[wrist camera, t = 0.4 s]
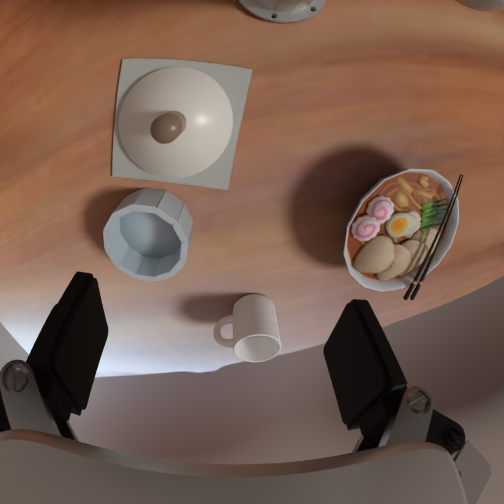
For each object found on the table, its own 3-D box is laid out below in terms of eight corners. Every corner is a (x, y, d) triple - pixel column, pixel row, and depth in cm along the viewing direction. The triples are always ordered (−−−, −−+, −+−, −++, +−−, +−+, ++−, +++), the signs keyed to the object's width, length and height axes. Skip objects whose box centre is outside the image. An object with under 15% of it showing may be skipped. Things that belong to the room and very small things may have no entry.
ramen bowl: (350, 131, 37) (375, 143, 30) (453, 166, 40) (481, 183, 33) (311, 267, 51) (323, 298, 44) (407, 274, 54) (425, 299, 47)
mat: (123, 59, 29) (122, 58, 28) (252, 69, 32) (252, 69, 31) (113, 175, 38) (112, 176, 38) (227, 189, 41) (227, 190, 41)
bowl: (116, 184, 39) (101, 200, 34) (196, 194, 41) (191, 211, 36) (118, 253, 46) (107, 274, 41) (188, 263, 48) (184, 286, 43)
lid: (128, 65, 29) (111, 63, 24) (243, 75, 32) (245, 73, 27) (118, 170, 38) (102, 185, 33) (222, 182, 40) (220, 199, 35)
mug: (217, 325, 58) (217, 366, 49) (209, 297, 53) (207, 339, 45) (275, 318, 58) (281, 359, 49) (272, 289, 53) (280, 331, 44)
